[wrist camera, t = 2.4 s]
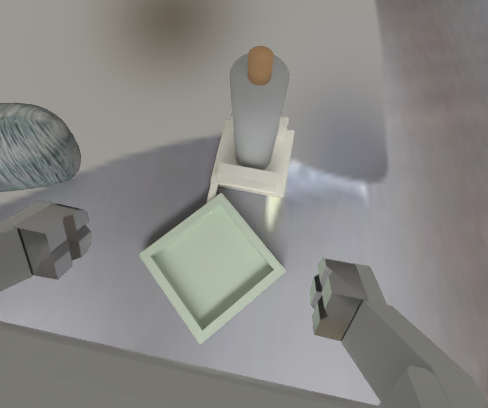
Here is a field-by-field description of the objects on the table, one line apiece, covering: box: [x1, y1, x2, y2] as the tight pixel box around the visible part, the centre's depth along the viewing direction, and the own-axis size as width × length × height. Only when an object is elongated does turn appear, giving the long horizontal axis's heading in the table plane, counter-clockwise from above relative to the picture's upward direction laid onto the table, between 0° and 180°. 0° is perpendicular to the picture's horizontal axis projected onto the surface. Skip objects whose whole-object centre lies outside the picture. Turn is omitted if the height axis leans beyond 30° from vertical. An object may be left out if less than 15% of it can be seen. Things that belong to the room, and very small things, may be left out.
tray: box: [139, 192, 286, 345], centre depth 26 cm, size 10×10×2 cm
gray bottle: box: [230, 46, 289, 170], centre depth 23 cm, size 4×4×14 cm
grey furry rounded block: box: [0, 103, 81, 192], centre depth 27 cm, size 14×10×10 cm
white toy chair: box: [206, 114, 294, 214], centre depth 28 cm, size 8×11×3 cm
